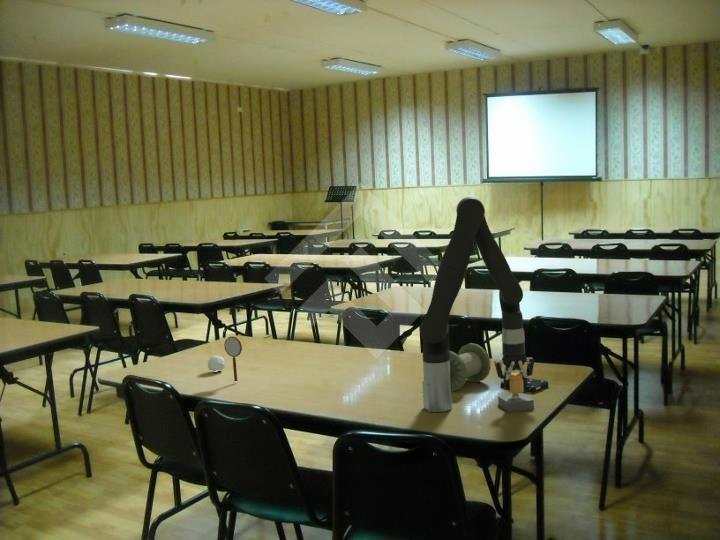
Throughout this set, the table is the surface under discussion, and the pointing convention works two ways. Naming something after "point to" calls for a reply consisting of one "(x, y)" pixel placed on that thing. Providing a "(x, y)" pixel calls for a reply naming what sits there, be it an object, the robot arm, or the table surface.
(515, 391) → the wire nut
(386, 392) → the table surface
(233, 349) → the magnifying glass
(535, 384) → the disk drive
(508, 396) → the grey piece
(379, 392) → the table surface
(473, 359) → the spool
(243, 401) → the table surface
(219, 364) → the ball
